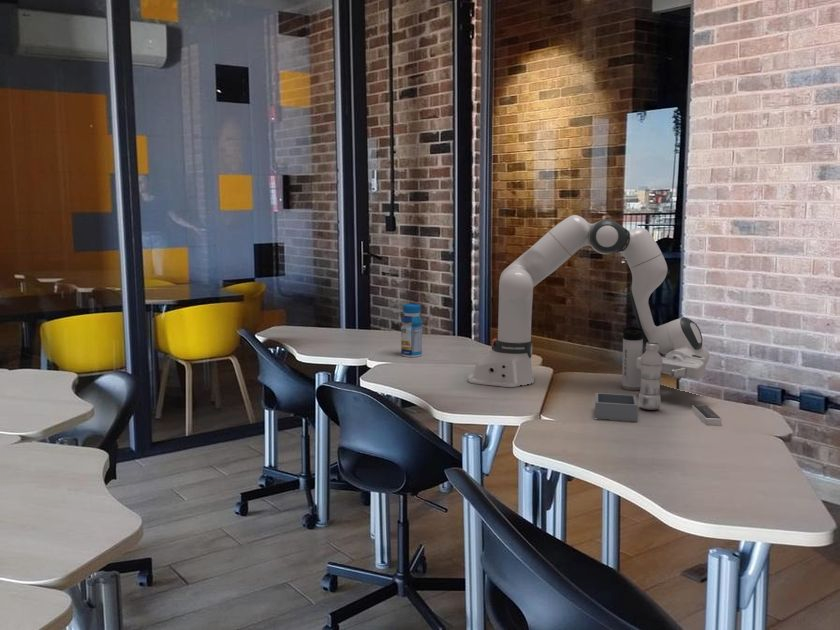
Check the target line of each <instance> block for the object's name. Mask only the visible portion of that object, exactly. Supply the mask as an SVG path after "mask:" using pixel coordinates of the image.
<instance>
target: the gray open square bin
mask: <svg viewBox="0 0 840 630" xmlns="http://www.w3.org/2000/svg"><path fill="white" fill-rule="evenodd" d="M594 394H595V396H594V397H595V398H594V419H595V418H597V419H596V420H601V419H612V420H611V421H615V420H623V421H622V422H630V421H638V408H639V407H638V406H639V403H638V398H637V395H636V394H621V393H620V394H619V393H605V392H595V393H594Z"/></svg>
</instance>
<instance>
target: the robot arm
mask: <svg viewBox="0 0 840 630" xmlns="http://www.w3.org/2000/svg"><path fill="white" fill-rule="evenodd" d="M584 247H589V248H590V249H592V250H594V251H595V253H596V252H597V253H599V254H601V255H609V254H613V253H614V254H615V253H619V254H621V255H622V256H623V258H624V259H625V260H626V262H627V265H628V267H629V269H630V272H631V277H632V278H631V281H632V282H631V284H630V286H629V296H630V301H631V305H632V308H633V311H634V314H635V319H636V322H637V326H638V328H640V329H642V330H643V336H642V337H643V351H644V353H645V352H646V349H645V347H646V343H647V342H656V343H659V350H658V353H659V354H660V356H661V358H662V360H663V364H662V369H661V374H665V375H668V376H669V377H671V378H674V379H682V378H683V379H685V378H686V379H695V380H700V379H704V378H705V375H706V369H707V365H708V363H709V361H710V353H709V350H708V349H707V347H706V346H705V345H704V344H703V343H704V342H703V335H702V332H701V329H700V327H699V326H698V324H697V323H696V322H694V321H693V320H692V319H690V318H689V317H685V316H682V317H680V318H677V319H673V320H671V321H669V322H666V323H663V324H660V325H658V326H657V325H655V322H654V319H653V316H652V315H653V314H652V311H651V308H650V304H649V300H650V299H649V298H650V297H651V294H652V293H654V292H655V291H656V289H657V288H659V287H660V286H661V285H662V283H663V282H664V280H665V279H666V277H667V274H668V264H667V261H666V260H665V256H664V255H663V252H662V251H661V249H660V247H659V245H658V243H657V242H656V240H655V239H654V237H653V235H652V234H651V233H650V231H649V230H648V229H646V228H644V227H635V228H632V229H630V230H629V229H627V228H625V227H624V226H623V225H621V224H619V222H616V221H614V220H612V219H602V220H598V221H597V222H593V223H590V222H588V221H587V220H586V219H585V218H584V217H582V216H580V215H577V214H573V215H570V216H567V217H566V218H564V219H563V220H562V221H560V222H559V223H557V224H556V225H554V226H553V227H552V228H551V229H550V230H548V232H546V234H544V235H543V236H542V237H540V239H538V241H536V242H535V243H534V244H533V245H532V246H531V247H530V248H528V249H527V250H526V251H525V252H524V253H522V254H521V255H520V256H519V257H517V258H516V259H515V260H514V261H513V262H512V263H510V264H509V265H508V266H507V267H506V268H504V270H503V271H502V272H501V274H500V277H499V282H498V283H499V284H498V315H497V316H498V319H497V320H498V321H497V338H496V337H495V338H493V339H491V350H490V351H489V352H488V353H485V355H483V356H481V357H480V358H479V359H478V360H477V362H476V363H475V367H474V371H473V372H472V373H470V374H469V375H468V376H467V382H469V384H477V385H485V386H486V385H487V386H493V387H494V386H495V387H503V388H516V387H520V385H522V386H528V385H527V384H529V385H531V383H532V384H534V383H535V379H534V375H533V368H532V356H533V341H532V337H531V336H532V319H533V318H532V314H533V300H534V299H533V298H534V297H533V296H534V288H535V286H537V285H538V284H540V282H542V281H543V280H545V279H546V278H547V277H548V276H550V275H551V274H554V272H555V271H557V269H559V268H560V267H561V266H562V265H563V264H564V263H565V262H566V261H568V260H569V259H570V258H572V256H574V254H575V253H577V252H578V251H579V250H580V249H582V248H584ZM640 359H641V357H638V358H637V361H636V367H637V368H638V369H641V366H640V364H641V363H640ZM533 382H534V383H533Z"/></svg>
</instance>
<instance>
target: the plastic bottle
mask: <svg viewBox="0 0 840 630" xmlns="http://www.w3.org/2000/svg"><path fill="white" fill-rule="evenodd" d="M645 349H646V352H645V351H644V353H643V354H642V357H641V359H640V363H641V364H640V366H641V387H640V390H639V394H638V398H637V404H638V406H639V407H640V408H641V409H644V410H648V411H651V410H652V411H653V410H655V411H656V410H659V409H660V407H661V405H662V397H661V388H660V387H661V386H660V383H661V374H662V373H661V369H662V364H663V360H662V358H661V356H660V354H659V353H658V350H659V343H656V342H647V343H646V347H645Z"/></svg>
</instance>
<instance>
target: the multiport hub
mask: <svg viewBox="0 0 840 630" xmlns="http://www.w3.org/2000/svg"><path fill="white" fill-rule="evenodd" d="M691 406H692V407H691V412H692V411H693V412H694V413H695V414H696V415H697V416H696V415H695V414H694V413H693V412H692V413H693V414H694V415H695V416H696V417H697V418H698V419H699V420H700V421H701V422H702V423H703V424H704V425H705V424H706V425H705V426H722V420H723V419H722V417H720V416H719V415H718V414H717V412H715V411H714V410H713V409H712V408H711V407H709V405H707V404H693V405H691Z"/></svg>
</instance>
